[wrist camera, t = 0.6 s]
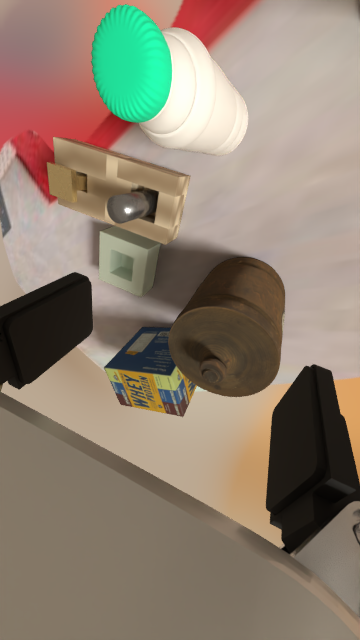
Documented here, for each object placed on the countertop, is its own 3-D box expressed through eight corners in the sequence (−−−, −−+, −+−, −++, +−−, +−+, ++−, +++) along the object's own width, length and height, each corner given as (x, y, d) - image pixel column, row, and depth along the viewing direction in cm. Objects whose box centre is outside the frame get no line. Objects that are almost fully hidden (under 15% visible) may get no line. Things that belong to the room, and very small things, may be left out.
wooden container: (239, 340, 50) (210, 431, 33) (189, 290, 48) (132, 358, 31) (304, 301, 41) (312, 399, 24) (246, 238, 39) (210, 293, 22)
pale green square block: (115, 225, 47) (99, 231, 43) (160, 242, 45) (148, 249, 41) (113, 270, 53) (98, 279, 49) (152, 287, 51) (141, 297, 47)
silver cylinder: (147, 186, 40) (107, 191, 31) (165, 192, 39) (130, 200, 31) (144, 208, 42) (106, 219, 33) (162, 214, 41) (127, 227, 33)
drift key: (73, 162, 40) (46, 162, 35) (95, 170, 39) (71, 170, 35) (74, 191, 42) (49, 194, 38) (95, 199, 41) (72, 202, 37)
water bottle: (192, 107, 33) (47, 23, 14) (242, 77, 30) (146, -92, 10) (206, 164, 36) (103, 161, 16) (253, 142, 33) (195, 106, 13)
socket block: (75, 139, 41) (52, 136, 38) (190, 176, 38) (178, 177, 34) (77, 200, 47) (58, 203, 44) (176, 237, 44) (165, 244, 40)
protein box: (207, 364, 57) (184, 418, 45) (152, 359, 63) (119, 405, 51) (199, 327, 52) (171, 376, 40) (141, 326, 59) (101, 367, 47)
